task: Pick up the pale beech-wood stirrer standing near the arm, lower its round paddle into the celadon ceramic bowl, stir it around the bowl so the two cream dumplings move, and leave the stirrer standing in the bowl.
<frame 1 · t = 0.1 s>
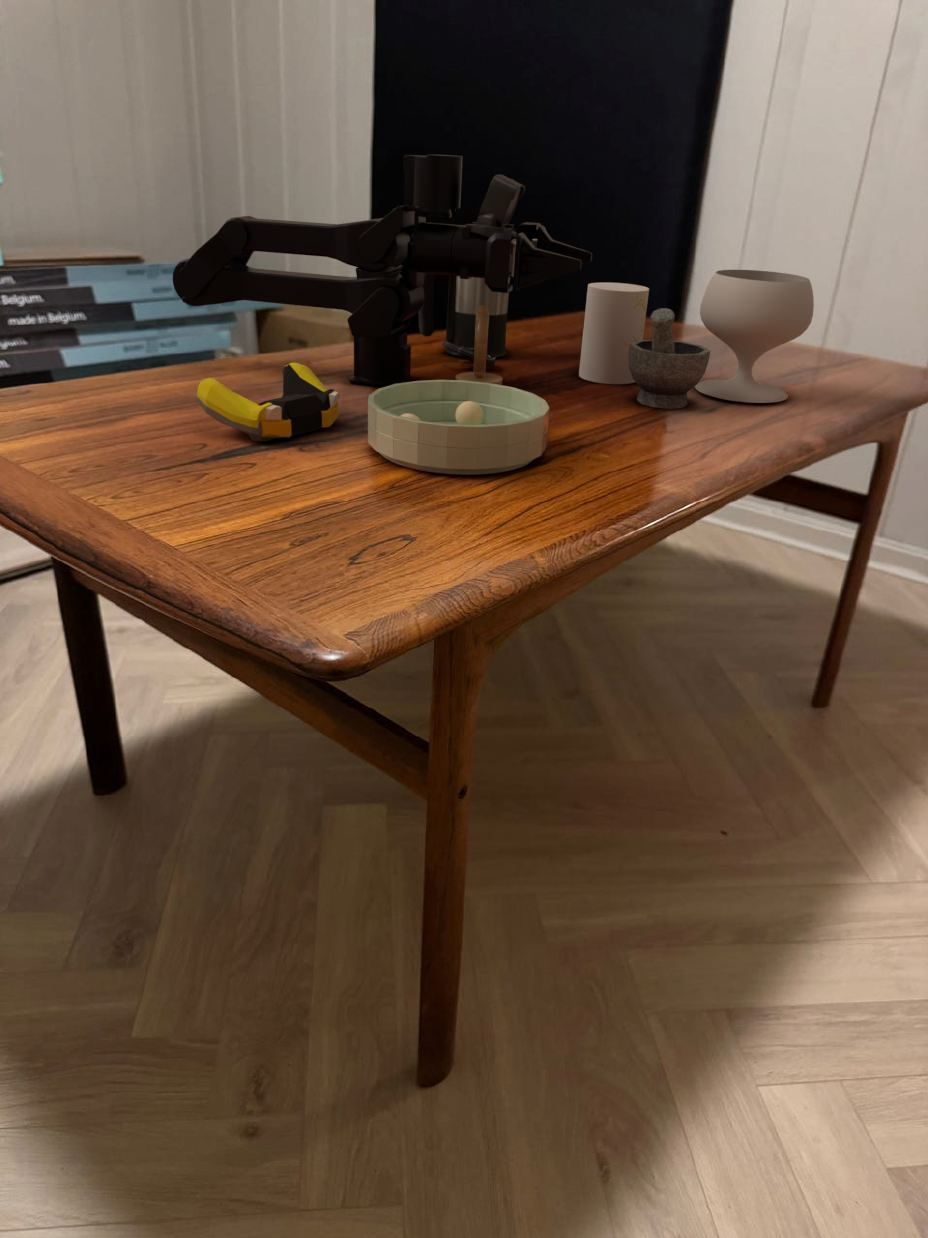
hand: (586, 261, 108), 17 cm above the table, tool horizontal, fingers open, 9 cm apart
gaming controller: (278, 429, 100), on the table
chalice: (740, 395, 123), on the table
dumpling b: (408, 428, 93), point 2 cm above the table, touching bowl
milk frother: (474, 360, 135), on the table
dumpling a: (469, 415, 99), point 2 cm above the table, touching bowl
mortar and pestle: (659, 404, 117), on the table
tall cream tube: (607, 378, 129), on the table
bowl: (456, 449, 95), on the table
stirrer: (478, 389, 119), on the table
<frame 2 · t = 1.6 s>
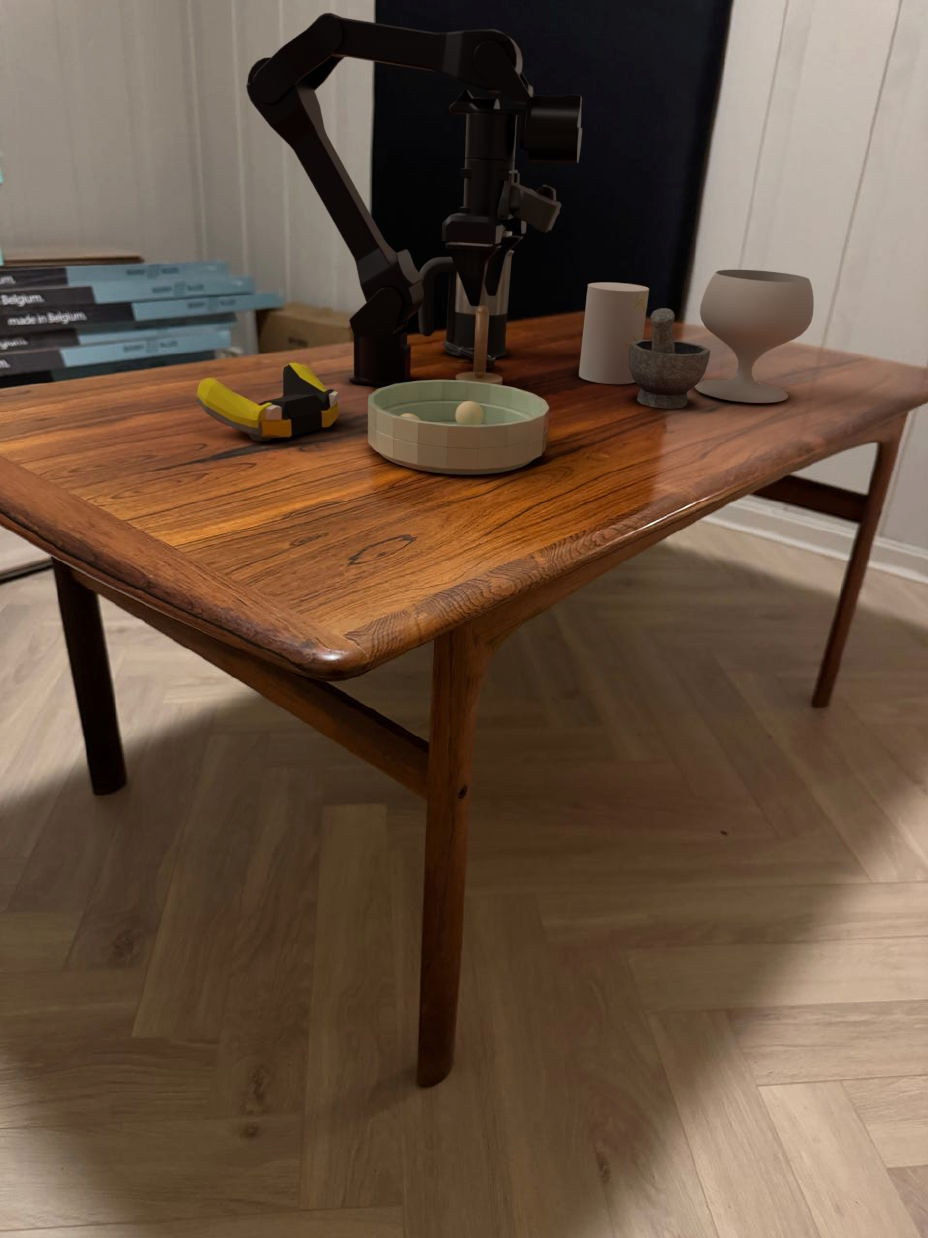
hand: (483, 300, 114), 11 cm above the table, tool pointing down, fingers open, 9 cm apart
nothing on the table moved.
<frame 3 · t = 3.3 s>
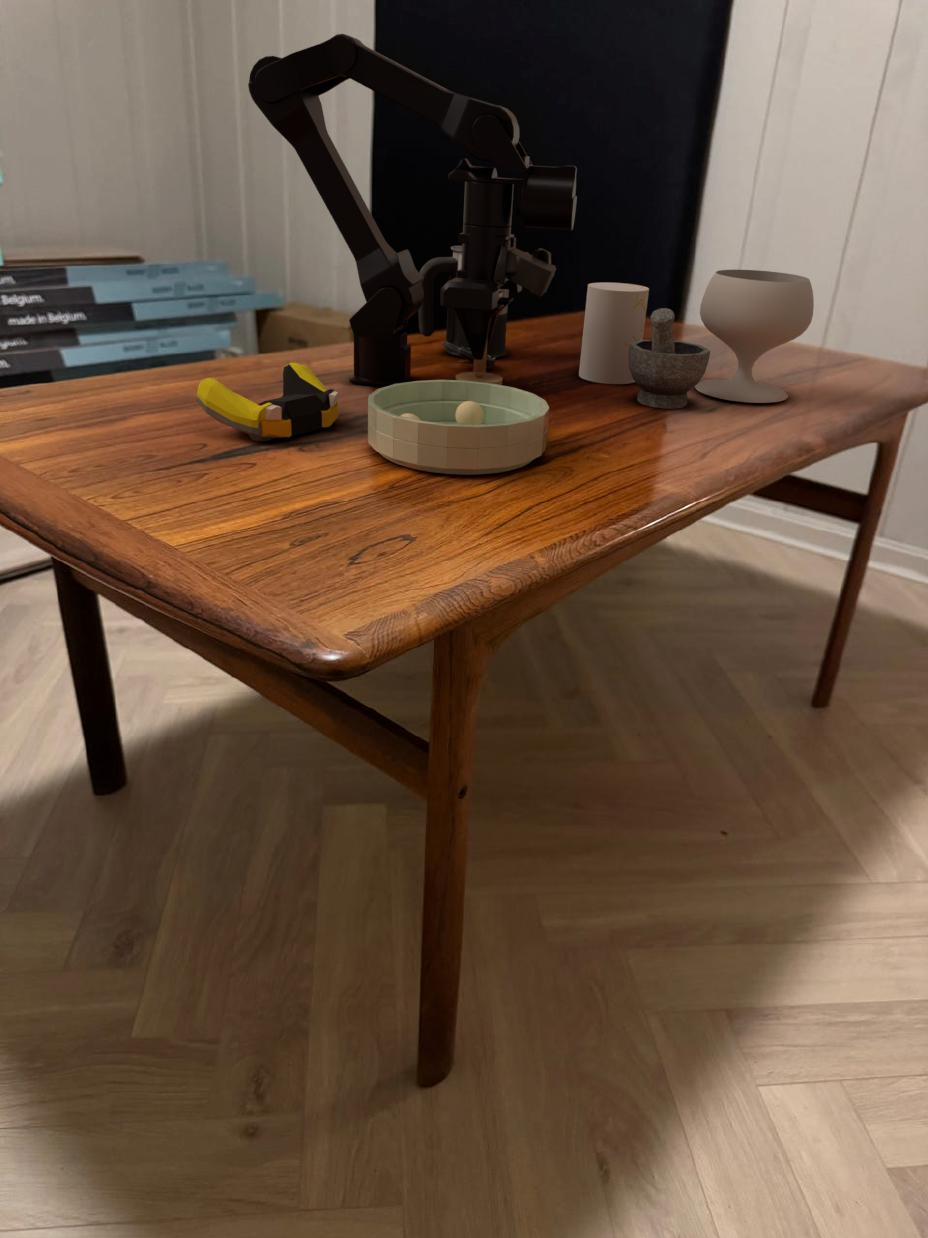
hand: (480, 357, 117), 4 cm above the table, tool pointing down, fingers closed on stirrer
stirrer: (478, 389, 119), on the table, touching gripper
everything else where it was.
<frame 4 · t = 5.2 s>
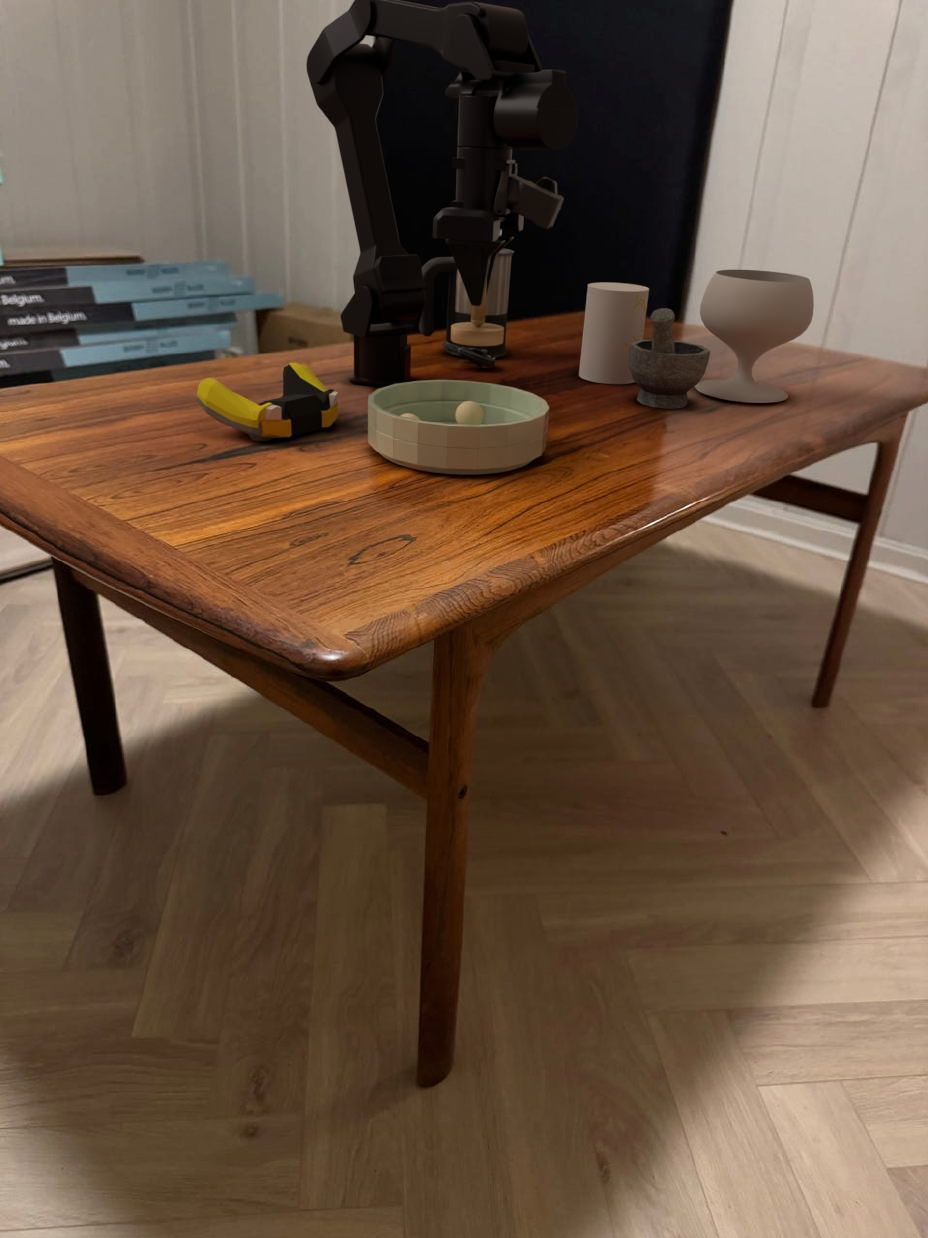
hand: (477, 304, 103), 12 cm above the table, tool pointing down, fingers closed on stirrer
stirrer: (476, 341, 105), point 8 cm above the table, touching gripper
everything else where it was.
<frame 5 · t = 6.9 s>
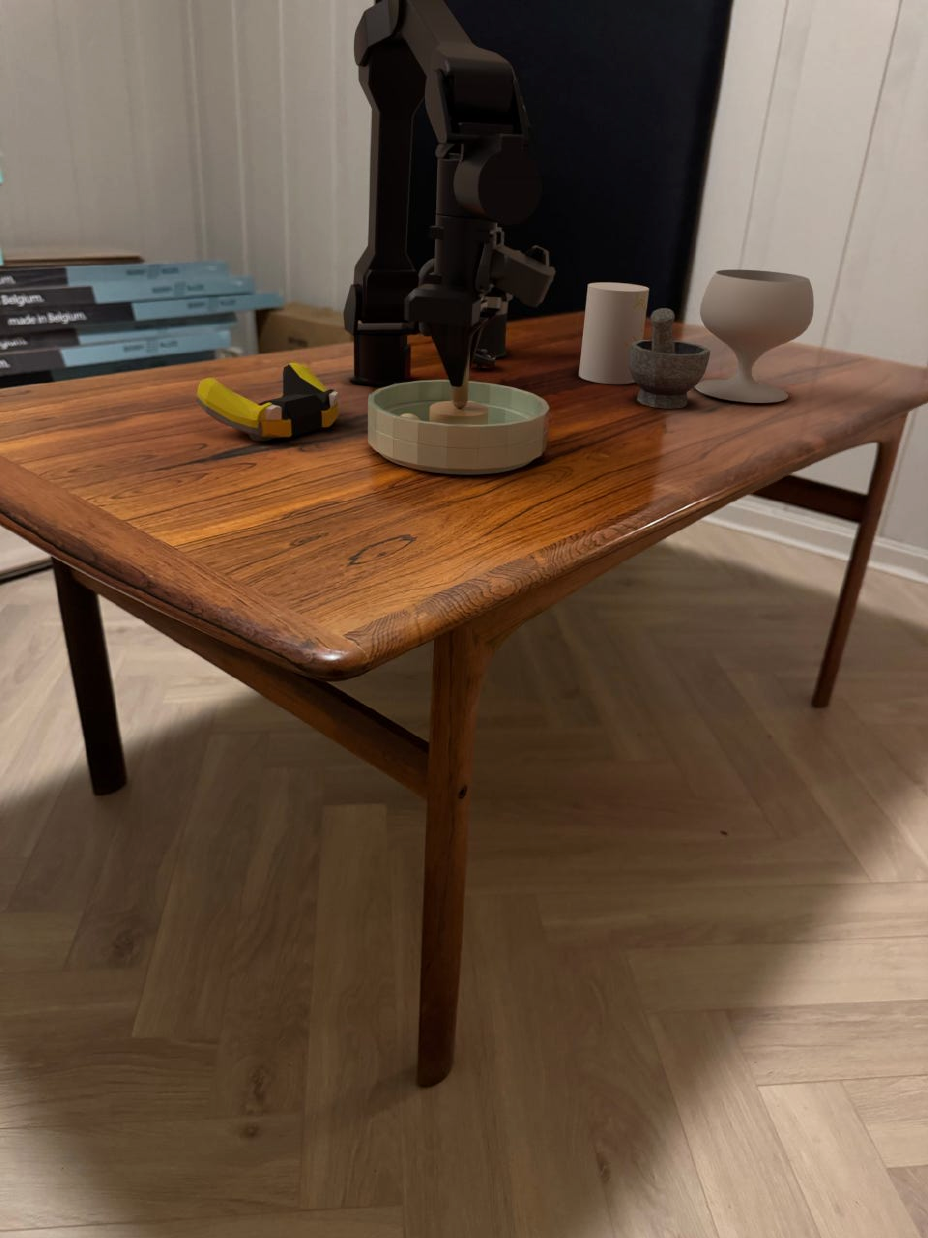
hand: (459, 384, 92), 7 cm above the table, tool pointing down, fingers closed on stirrer
stirrer: (458, 423, 94), point 3 cm above the table, touching gripper
everything else where it was.
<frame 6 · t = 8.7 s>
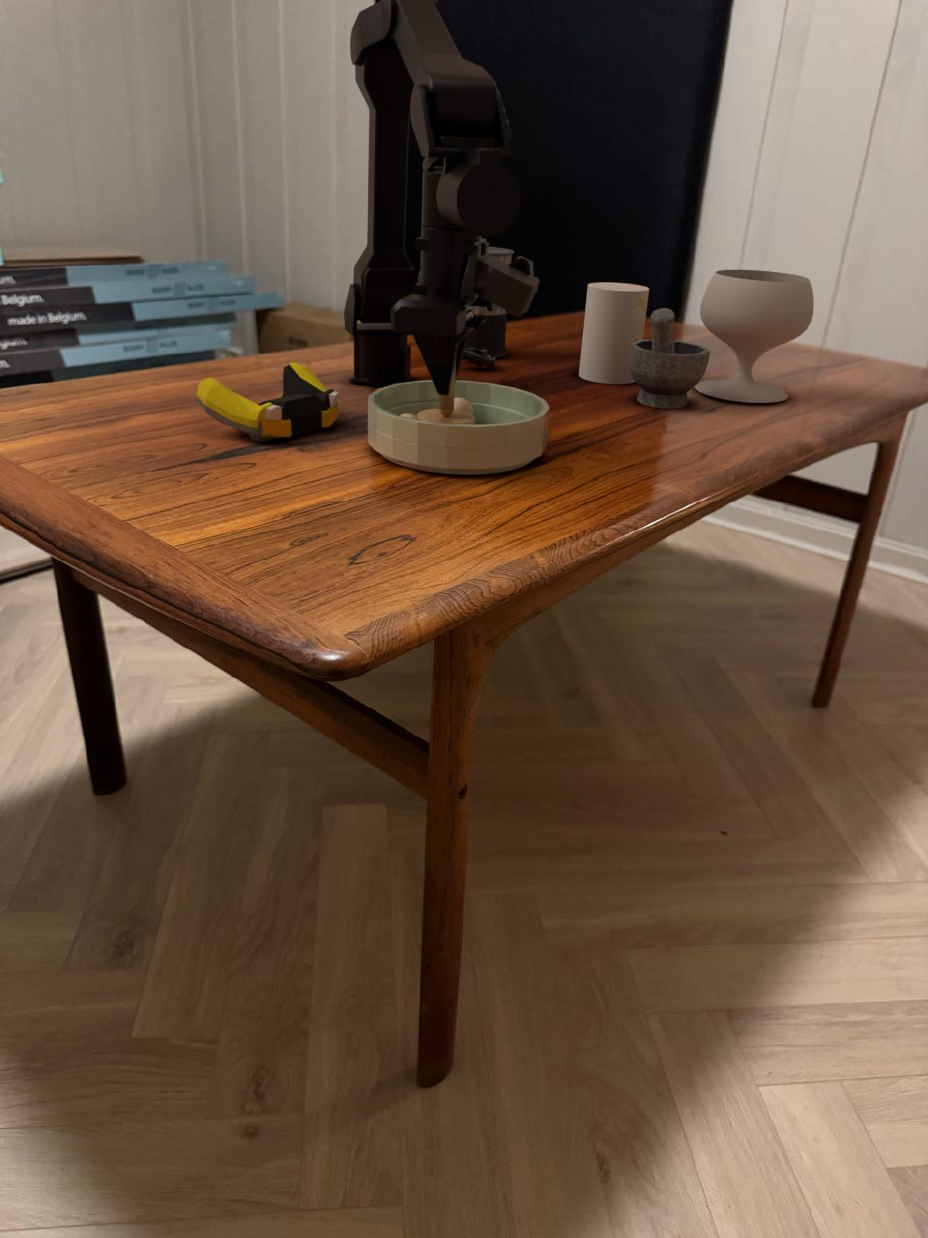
hand: (445, 392, 94), 6 cm above the table, tool pointing down, fingers closed on stirrer
dumpling a: (459, 411, 100), point 2 cm above the table, tilted 48°, touching bowl
stirrer: (445, 431, 96), point 2 cm above the table, touching gripper
everything else where it was.
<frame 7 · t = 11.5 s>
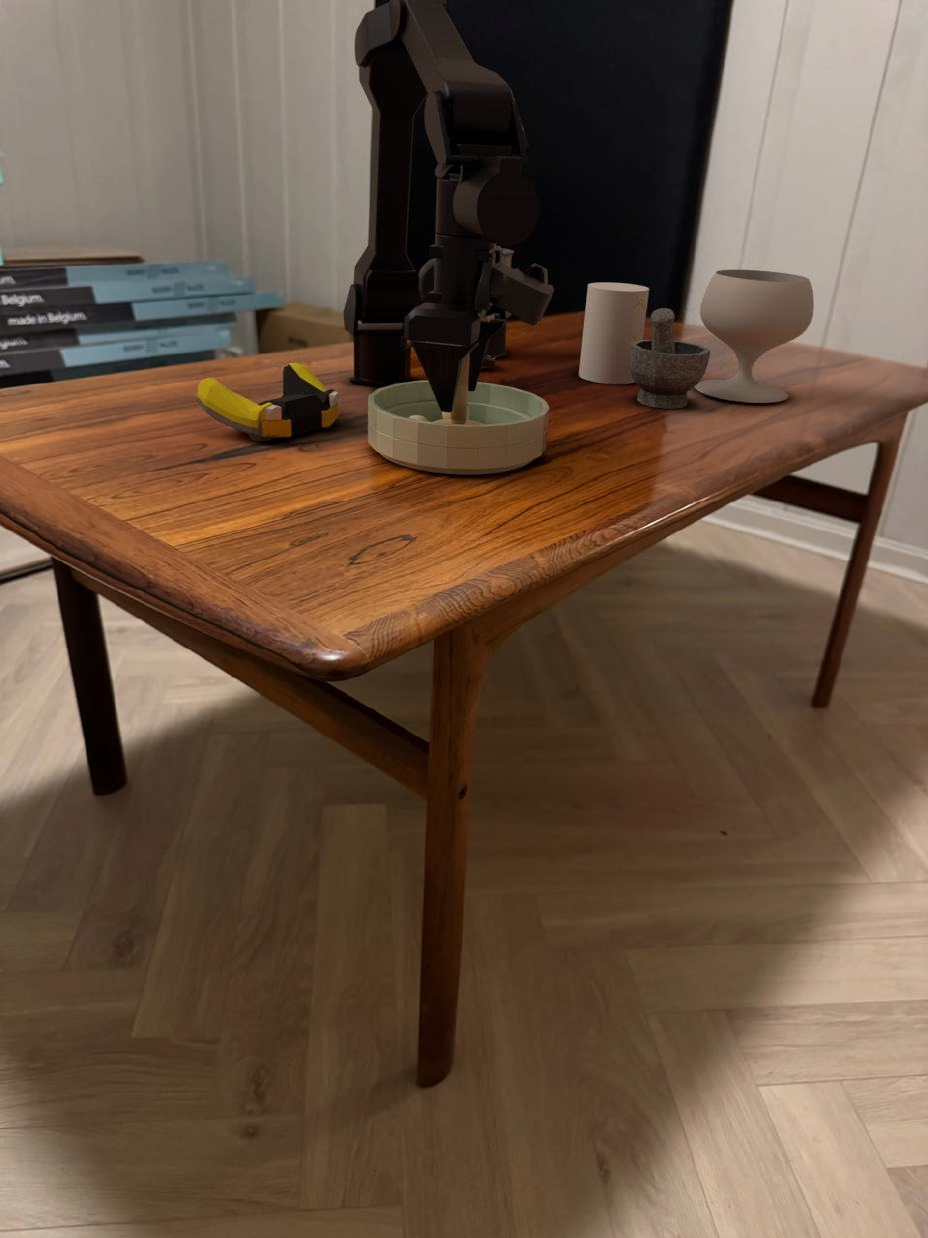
hand: (458, 400, 93), 5 cm above the table, tool pointing down, fingers open, 9 cm apart
dumpling b: (417, 430, 93), point 2 cm above the table, tilted 35°, touching bowl
dumpling a: (455, 413, 99), point 2 cm above the table, tilted 24°, touching bowl
stirrer: (457, 441, 95), point 1 cm above the table, touching bowl
everything else where it was.
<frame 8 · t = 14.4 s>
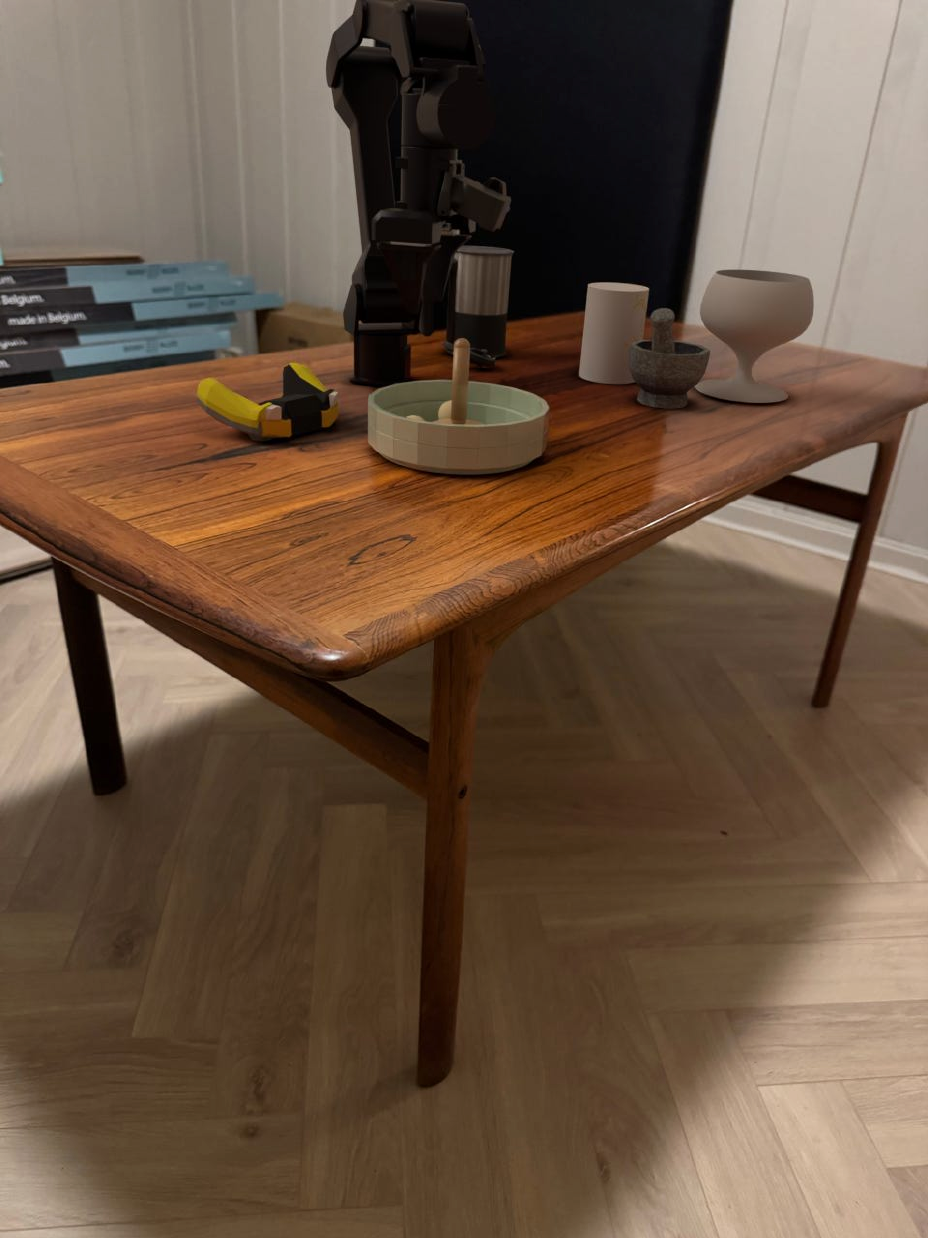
hand: (425, 307, 101), 12 cm above the table, tool pointing down, fingers open, 9 cm apart
dumpling b: (413, 430, 93), point 2 cm above the table, tilted 25°, touching bowl
everything else where it was.
at the end: dumpling a moved 1.9 cm from its start; stirrer inside the target area in the bowl (0.1 cm from its centre), point 0.8 cm above the bowl's base; stirrer tilted 0° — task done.
